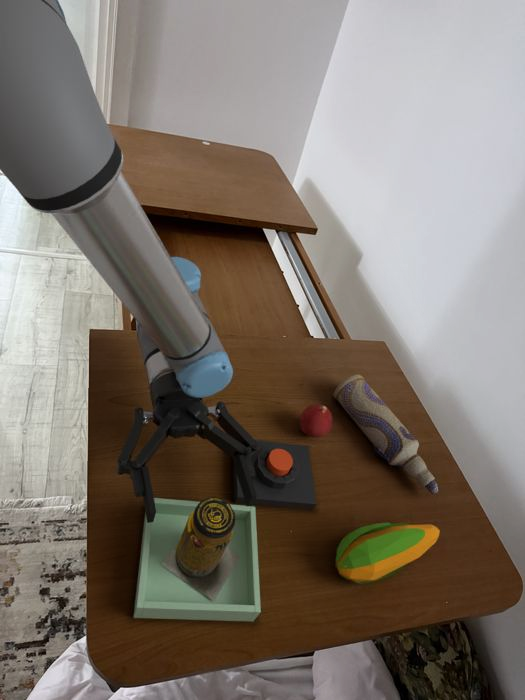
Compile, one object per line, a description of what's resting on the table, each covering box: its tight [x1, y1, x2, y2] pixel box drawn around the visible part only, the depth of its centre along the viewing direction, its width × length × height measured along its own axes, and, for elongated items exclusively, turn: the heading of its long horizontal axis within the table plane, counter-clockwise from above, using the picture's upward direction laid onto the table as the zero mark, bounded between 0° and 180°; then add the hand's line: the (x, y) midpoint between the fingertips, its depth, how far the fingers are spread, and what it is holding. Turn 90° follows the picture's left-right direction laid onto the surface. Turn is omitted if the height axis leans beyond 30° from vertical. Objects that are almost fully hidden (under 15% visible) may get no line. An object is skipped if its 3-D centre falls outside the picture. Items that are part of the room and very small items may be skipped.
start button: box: [266, 449, 293, 476], centre depth 81 cm, size 4×4×2 cm
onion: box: [299, 403, 334, 438], centre depth 90 cm, size 6×6×8 cm
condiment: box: [161, 496, 240, 601], centre depth 66 cm, size 7×8×12 cm
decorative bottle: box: [332, 374, 440, 495], centre depth 93 cm, size 26×8×7 cm, turn 33°
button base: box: [232, 439, 318, 511], centre depth 82 cm, size 13×11×4 cm
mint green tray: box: [133, 497, 262, 623], centre depth 69 cm, size 16×15×4 cm
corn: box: [335, 521, 441, 585], centre depth 77 cm, size 7×8×20 cm
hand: (204, 509), depth 66 cm, fingers open, 13 cm apart
